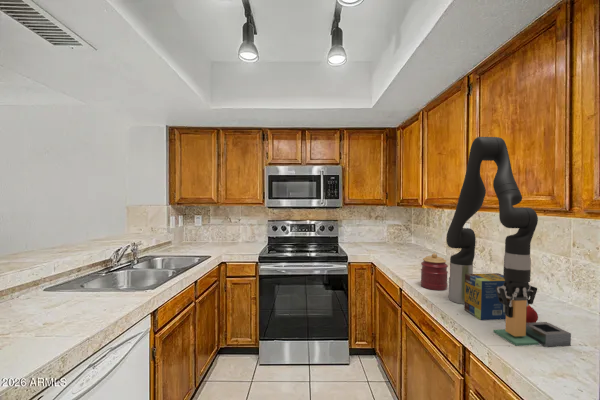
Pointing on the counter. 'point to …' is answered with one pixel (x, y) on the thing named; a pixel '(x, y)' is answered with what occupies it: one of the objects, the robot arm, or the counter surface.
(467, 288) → the protein box
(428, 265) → the canister
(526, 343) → the mat
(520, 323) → the plug
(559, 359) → the counter surface
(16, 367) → the counter surface
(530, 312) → the red onion
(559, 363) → the counter surface
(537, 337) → the gray square frame
